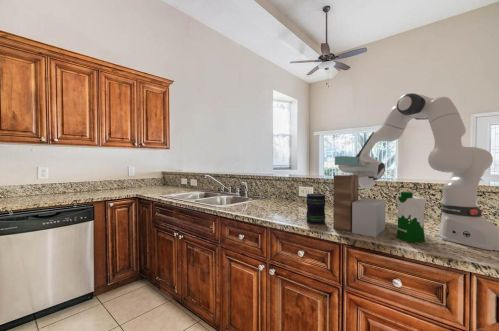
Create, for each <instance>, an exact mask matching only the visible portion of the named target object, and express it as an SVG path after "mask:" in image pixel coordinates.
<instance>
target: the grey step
mask: <svg viewBox="0 0 499 331" xmlns="http://www.w3.org/2000/svg"><path fill="white" fill-rule="evenodd" d="M385 229H386V199H379V198H378V199H376V198H369V197H367V198H366V197H363V198H360V199H358V200H357V201H355V202H352V231H351V232H352V234H356V235H361V236H365V237H372V238H377V237H379V235H380V234H381V233H382V232H384V230H385Z"/></svg>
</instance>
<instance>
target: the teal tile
mask: <svg viewBox="0 0 499 331" xmlns="http://www.w3.org/2000/svg"><path fill="white" fill-rule="evenodd" d="M358 159H360V157H355V156H346V155H341V156H340V155H338V156H337V155H336V156H334V166H338V165H360V163H358Z"/></svg>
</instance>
